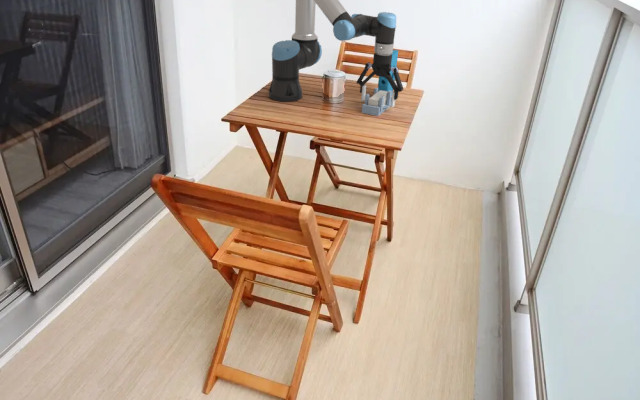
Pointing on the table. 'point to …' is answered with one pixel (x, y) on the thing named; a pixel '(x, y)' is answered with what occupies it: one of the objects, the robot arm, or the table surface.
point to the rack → (379, 110)
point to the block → (383, 82)
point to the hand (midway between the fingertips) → (377, 103)
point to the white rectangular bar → (378, 98)
